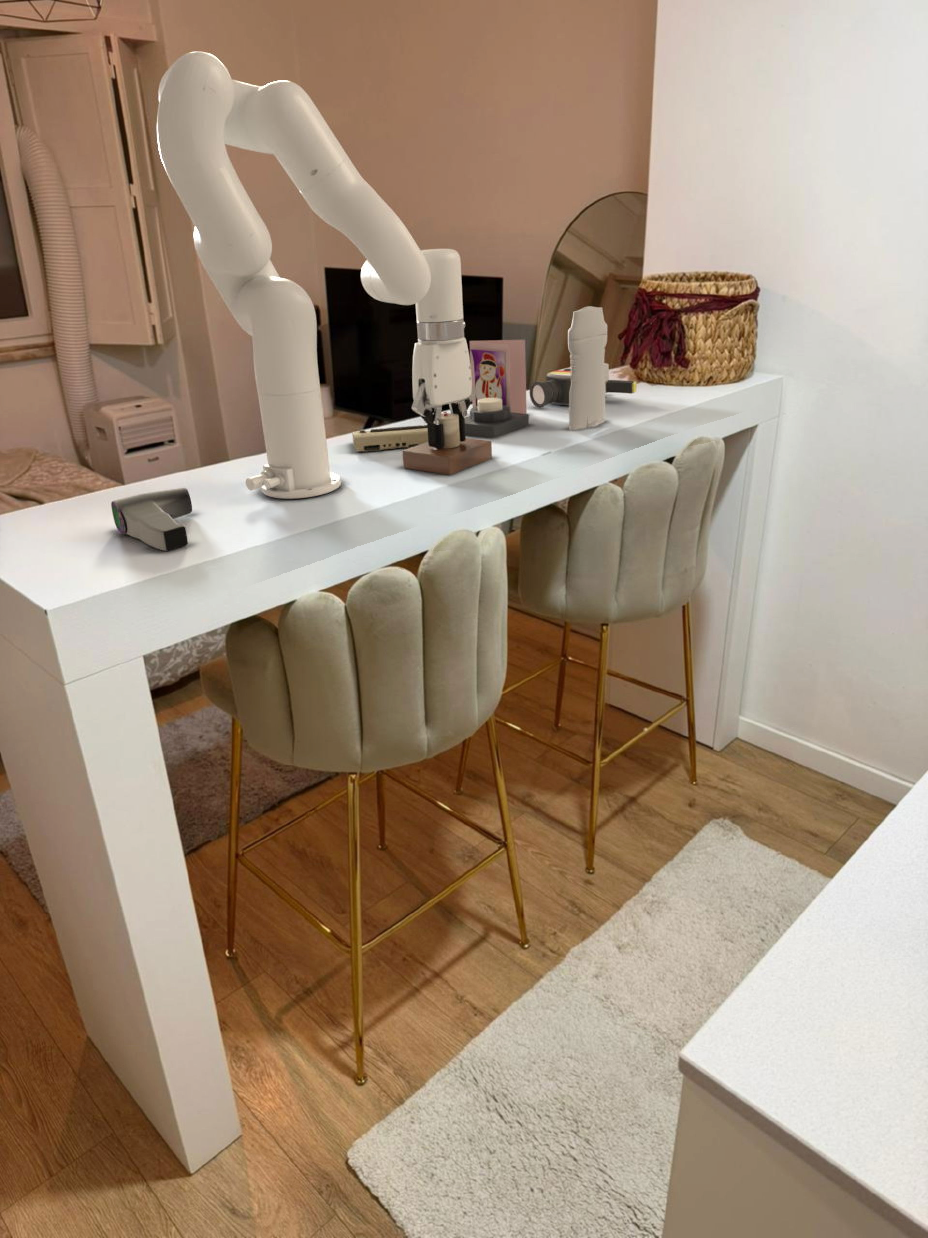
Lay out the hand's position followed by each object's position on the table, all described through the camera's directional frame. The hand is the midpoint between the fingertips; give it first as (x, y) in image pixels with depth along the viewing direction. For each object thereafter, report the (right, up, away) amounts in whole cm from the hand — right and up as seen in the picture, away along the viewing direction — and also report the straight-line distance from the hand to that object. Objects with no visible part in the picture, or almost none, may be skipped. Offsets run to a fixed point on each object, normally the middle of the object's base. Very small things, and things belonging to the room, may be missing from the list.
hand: (447, 442), depth 150 cm
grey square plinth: (+8, +7, +23) cm, 26 cm away
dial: (0, 0, 0) cm, 1 cm away
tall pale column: (+27, +8, +22) cm, 36 cm away
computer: (-10, +2, +15) cm, 18 cm away
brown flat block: (0, -3, +1) cm, 4 cm away
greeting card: (+11, +12, +34) cm, 37 cm away
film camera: (+29, +16, +40) cm, 52 cm away
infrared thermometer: (-38, -18, -25) cm, 49 cm away
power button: (+8, +10, +22) cm, 25 cm away
